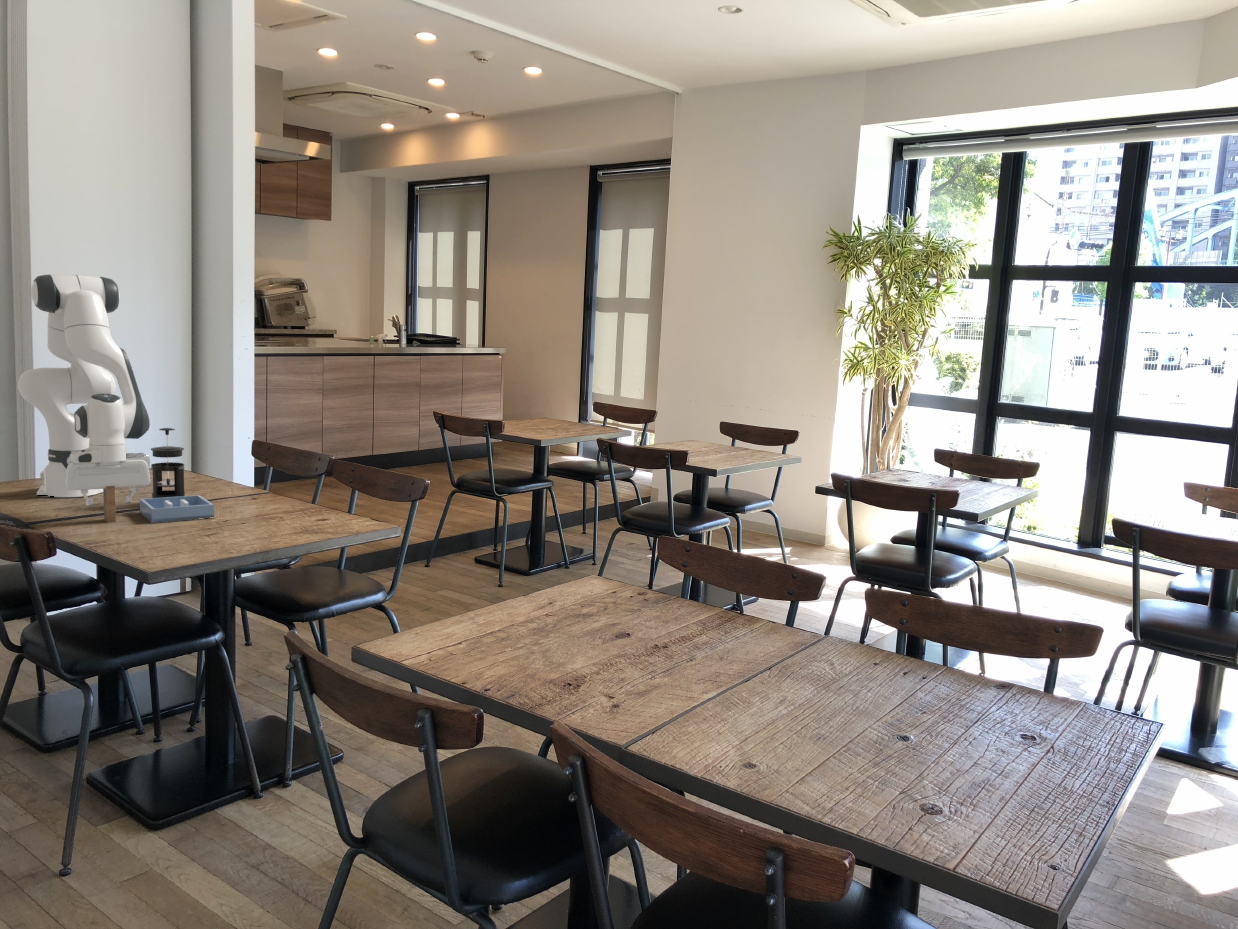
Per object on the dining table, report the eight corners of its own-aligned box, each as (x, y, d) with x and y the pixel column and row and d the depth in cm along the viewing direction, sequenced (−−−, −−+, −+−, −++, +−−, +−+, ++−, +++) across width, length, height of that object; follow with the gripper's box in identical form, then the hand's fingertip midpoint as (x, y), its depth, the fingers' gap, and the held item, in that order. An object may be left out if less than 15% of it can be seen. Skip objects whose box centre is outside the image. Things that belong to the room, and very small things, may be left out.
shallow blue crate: (140, 512, 265) (139, 499, 264) (199, 508, 275) (199, 495, 274) (152, 523, 253) (152, 509, 252) (214, 518, 262) (213, 504, 262)
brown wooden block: (104, 519, 255) (103, 483, 253) (112, 518, 256) (111, 483, 254) (107, 523, 251) (106, 486, 249) (115, 522, 252) (114, 486, 250)
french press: (143, 503, 278) (141, 427, 274) (171, 499, 286) (170, 425, 282) (167, 508, 272) (165, 431, 269) (196, 504, 280) (194, 429, 277)
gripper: (147, 451, 259) (148, 499, 261) (63, 454, 247) (65, 505, 249) (152, 453, 254) (153, 503, 256) (66, 457, 242) (68, 509, 244)
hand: (109, 504), depth 252 cm, fingers open, 8 cm apart
